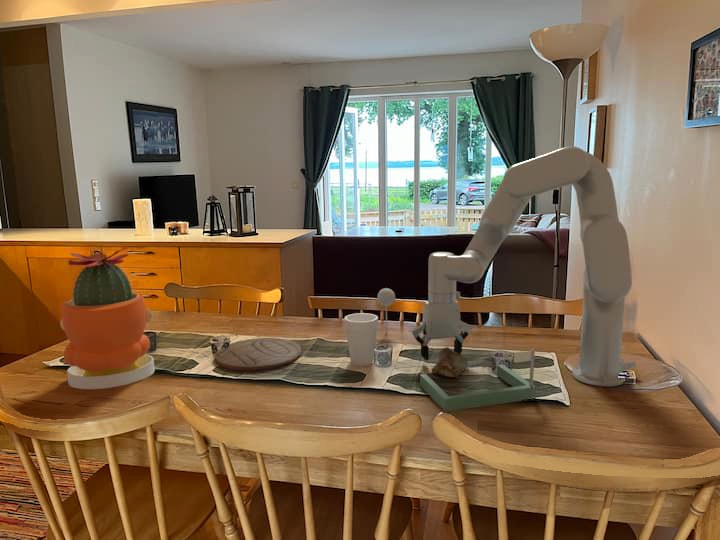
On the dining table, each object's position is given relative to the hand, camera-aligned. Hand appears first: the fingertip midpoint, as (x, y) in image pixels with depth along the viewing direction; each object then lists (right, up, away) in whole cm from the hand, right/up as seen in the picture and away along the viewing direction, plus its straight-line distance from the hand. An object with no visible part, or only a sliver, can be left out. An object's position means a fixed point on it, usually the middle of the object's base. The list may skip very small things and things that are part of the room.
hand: (441, 356), depth 153 cm
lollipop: (-14, +3, +29) cm, 32 cm away
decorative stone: (+1, -3, -6) cm, 7 cm away
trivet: (-53, -2, +9) cm, 54 cm away
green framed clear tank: (+5, -5, -19) cm, 20 cm away
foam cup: (-22, -2, +2) cm, 22 cm away
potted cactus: (-89, -5, -7) cm, 89 cm away
